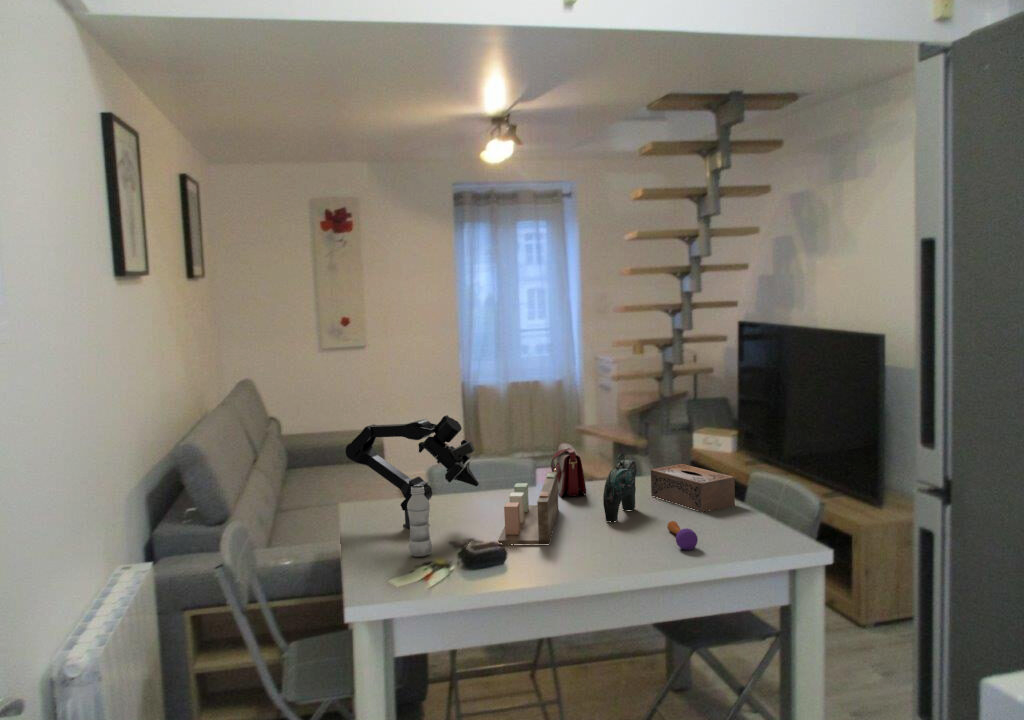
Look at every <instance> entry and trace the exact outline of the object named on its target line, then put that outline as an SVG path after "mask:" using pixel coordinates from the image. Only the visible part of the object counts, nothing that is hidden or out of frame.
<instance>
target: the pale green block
mask: <svg viewBox="0 0 1024 720" xmlns="http://www.w3.org/2000/svg"><path fill="white" fill-rule="evenodd" d="M513 489H514V490H513V492H524V511H525V512H528V509H529V505H530V504H529V503H530V502H529V483H525V482H524V483H522V482H519V483H515V484H514V487H513Z"/></svg>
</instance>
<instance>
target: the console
mask: <svg viewBox="0 0 1024 720" xmlns="http://www.w3.org/2000/svg"><path fill="white" fill-rule="evenodd" d="M557 512H559V492H558V484H557V472H552V471H547V474H546V477H545V479H544V483H543V485H542V487H541V491H540V493H539V496H538V499H537V502H536V505H535V504H534V505H533V504H532V505H531V504H529V509H528V512H525V519H524V522H523V523H520V532H519V535H505V526H503V529H502V531H501V533H500V535H499V537H498V539H497V543H498V542H499V543H502V544H503V545H502V546H515V545H514V544H549V543H551V540H552V536H551V535H553V533H552V531H553V532H554V529H553V528H554V527H555V525H554V524H556V521H555V520H557V517H556V516H558V513H557ZM550 539H551V540H550ZM511 544H513V545H511ZM549 545H550V544H549Z"/></svg>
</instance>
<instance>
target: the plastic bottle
mask: <svg viewBox="0 0 1024 720" xmlns="http://www.w3.org/2000/svg"><path fill="white" fill-rule="evenodd" d="M424 493H425V491H424V486H421V485H417V486H412V487H411V494H412V496H411V498H410V499H409V501H408V504H407V509H408V515H409V521H410V529H409V540H408V550H409V554H410V555H411V556H413V557H419V558H420V557H427V556H428V555H430V554H431V553H432V549H433V544H432V541H431V540H432V539H431V535H430V526H429V524H430V521H429V520H430V511H431V509H430V508H431V503H430V500H429V501H428V499H427V498H426V497H425V496H424Z"/></svg>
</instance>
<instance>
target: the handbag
mask: <svg viewBox="0 0 1024 720" xmlns="http://www.w3.org/2000/svg"><path fill="white" fill-rule="evenodd" d="M555 460H556V464H555ZM550 468H551V472H557V484H558V495H559V496H560V497H563V495H564V493H566V495H567V496H568V497H576V495H577V496H578V495H579V493H580V492H581V493H582V494H583V495H584V494H585V495H584V496H587V486H586V480H585V474H584V469H583V464H582V459H581V457H580V456H579V454H578V452H577V450H576V449H575V448H574V446H573V445H572V444H571V443H569V442H560V443H559V444H558V445H557V448H556V452H555V453H554V455H553V457H552V459H551V462H550Z"/></svg>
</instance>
